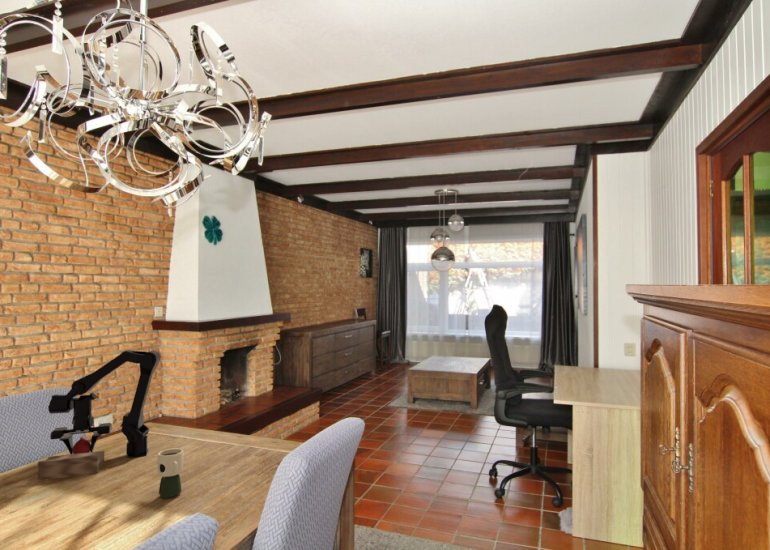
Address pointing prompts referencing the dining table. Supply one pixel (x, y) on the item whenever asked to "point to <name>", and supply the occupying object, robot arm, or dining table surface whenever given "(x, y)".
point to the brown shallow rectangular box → (70, 465)
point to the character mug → (170, 472)
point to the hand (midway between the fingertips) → (81, 454)
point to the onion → (81, 446)
